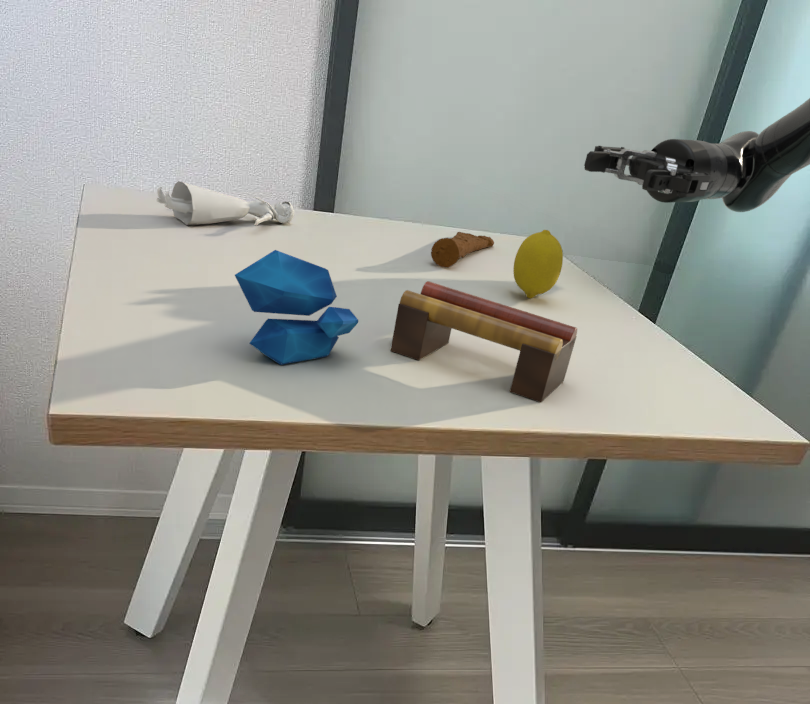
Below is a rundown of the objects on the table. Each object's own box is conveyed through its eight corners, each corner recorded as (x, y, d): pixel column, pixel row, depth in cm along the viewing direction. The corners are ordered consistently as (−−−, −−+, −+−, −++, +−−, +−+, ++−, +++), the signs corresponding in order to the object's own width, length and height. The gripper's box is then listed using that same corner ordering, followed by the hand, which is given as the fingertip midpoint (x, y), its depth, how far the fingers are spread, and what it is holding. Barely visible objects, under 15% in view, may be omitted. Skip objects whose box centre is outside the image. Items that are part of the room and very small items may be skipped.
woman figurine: (143, 167, 108) (273, 184, 119) (140, 205, 110) (268, 218, 121) (184, 193, 100) (319, 208, 111) (180, 233, 102) (312, 244, 113)
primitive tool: (457, 235, 127) (463, 210, 125) (495, 245, 126) (501, 219, 125) (426, 264, 111) (432, 236, 109) (469, 275, 110) (475, 247, 108)
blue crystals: (388, 286, 76) (279, 260, 67) (355, 381, 79) (247, 369, 70) (333, 259, 80) (224, 231, 71) (305, 350, 83) (197, 335, 74)
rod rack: (563, 381, 84) (580, 325, 81) (541, 402, 78) (557, 343, 75) (421, 333, 88) (432, 278, 85) (390, 350, 83) (400, 292, 80)
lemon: (520, 305, 103) (537, 234, 99) (498, 289, 107) (514, 221, 103) (560, 307, 105) (579, 238, 101) (538, 291, 109) (555, 225, 105)
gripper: (649, 127, 119) (578, 122, 108) (744, 154, 111) (678, 152, 100) (631, 186, 123) (561, 187, 112) (722, 216, 115) (656, 220, 104)
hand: (617, 170), depth 106 cm, fingers open, 8 cm apart
